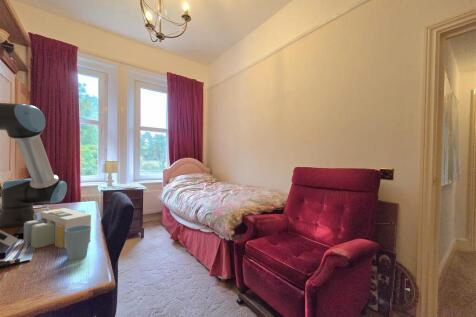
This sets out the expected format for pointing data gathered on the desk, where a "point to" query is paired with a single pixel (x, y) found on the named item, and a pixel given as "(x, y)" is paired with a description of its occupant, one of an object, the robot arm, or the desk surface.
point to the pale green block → (43, 234)
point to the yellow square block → (60, 236)
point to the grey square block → (30, 229)
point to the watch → (38, 211)
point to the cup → (77, 241)
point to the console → (66, 219)
